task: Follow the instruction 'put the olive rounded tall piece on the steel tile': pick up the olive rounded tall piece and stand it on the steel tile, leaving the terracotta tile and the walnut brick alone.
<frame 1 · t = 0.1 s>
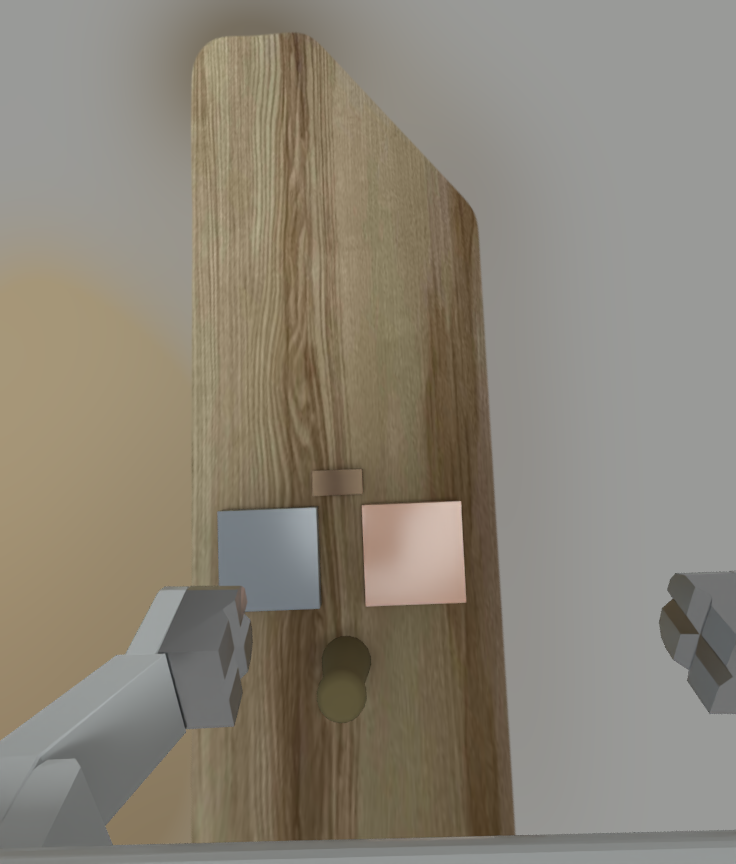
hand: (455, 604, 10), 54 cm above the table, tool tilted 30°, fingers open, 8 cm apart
walnut brick: (338, 481, 64), on the table
olive rounded tall piece: (346, 660, 63), on the table
terracotta tile: (412, 550, 63), on the table
steel tile: (271, 556, 63), on the table
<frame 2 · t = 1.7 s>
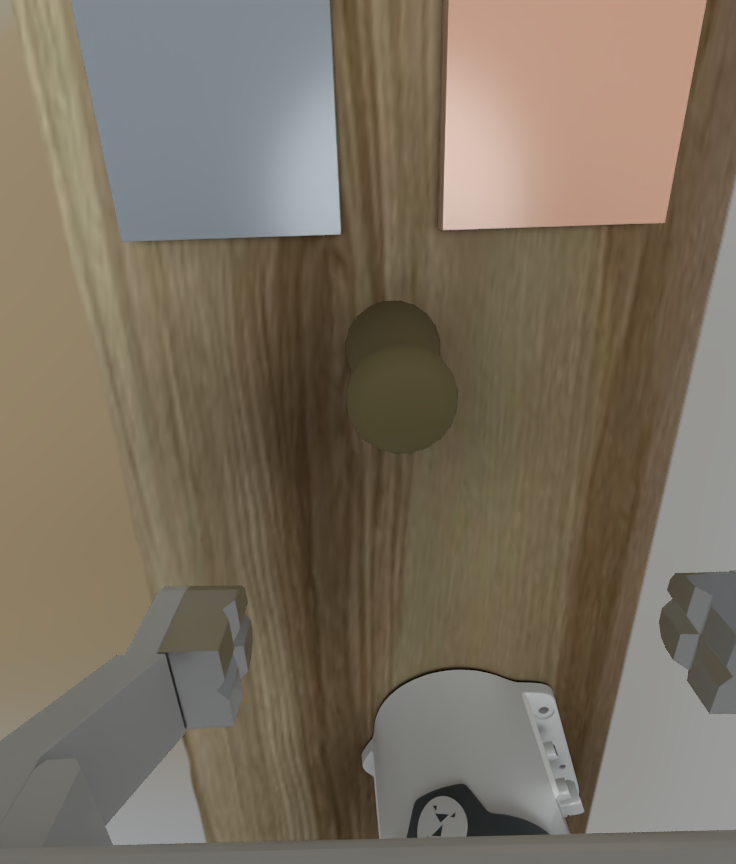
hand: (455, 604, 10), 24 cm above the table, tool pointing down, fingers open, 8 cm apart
olive rounded tall piece: (392, 348, 33), on the table
terracotta tile: (553, 103, 27), on the table
steel tile: (224, 116, 27), on the table
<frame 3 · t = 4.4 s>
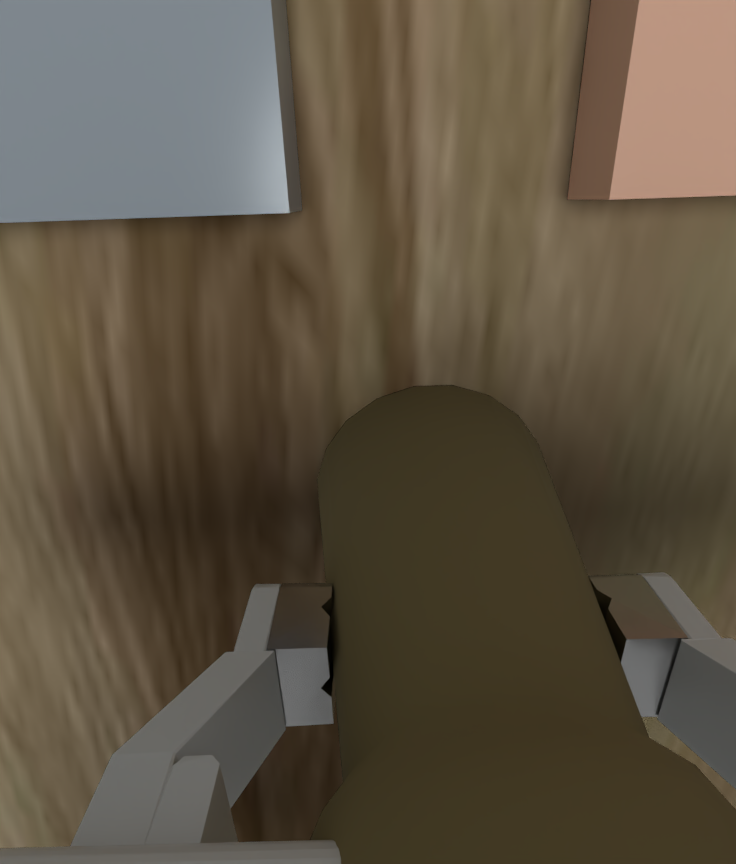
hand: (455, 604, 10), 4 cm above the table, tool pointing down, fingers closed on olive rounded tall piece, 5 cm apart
olive rounded tall piece: (429, 488, 14), on the table, touching gripper
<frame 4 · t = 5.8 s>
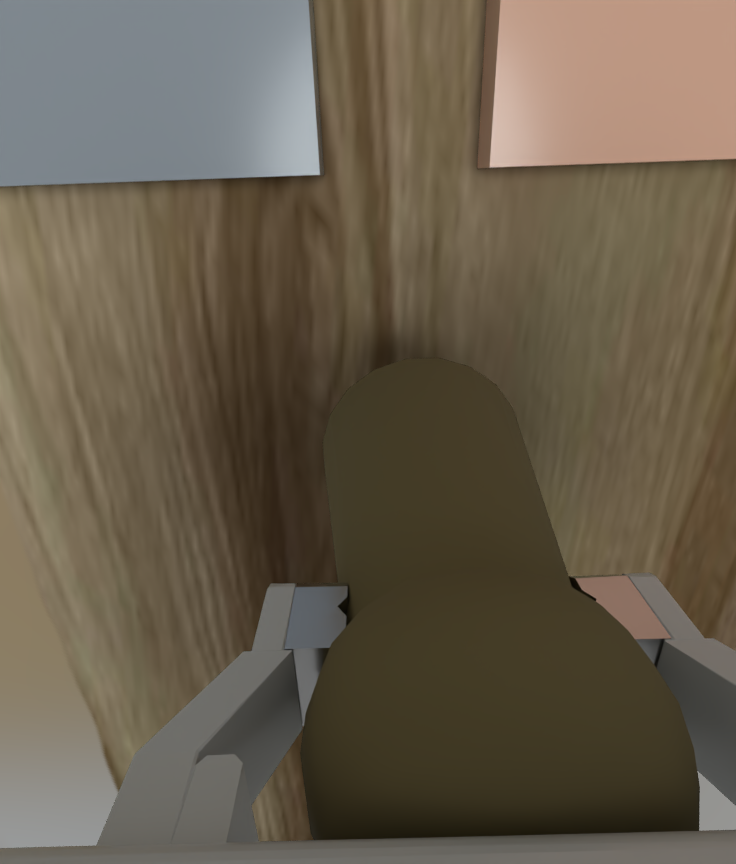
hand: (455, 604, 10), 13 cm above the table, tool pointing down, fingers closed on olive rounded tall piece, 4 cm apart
olive rounded tall piece: (420, 449, 16), point 7 cm above the table, touching gripper
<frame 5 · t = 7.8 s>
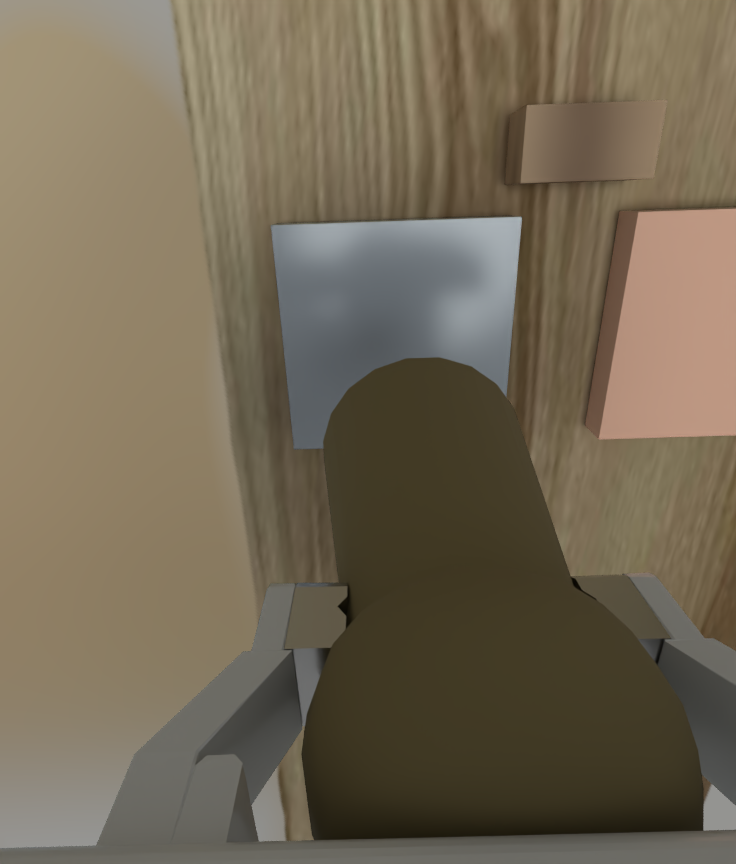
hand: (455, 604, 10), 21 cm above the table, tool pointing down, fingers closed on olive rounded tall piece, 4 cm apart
walnut brick: (567, 148, 25), on the table
olive rounded tall piece: (420, 449, 16), point 14 cm above the table, touching gripper
terracotta tile: (708, 323, 29), on the table
steel tile: (395, 334, 29), on the table
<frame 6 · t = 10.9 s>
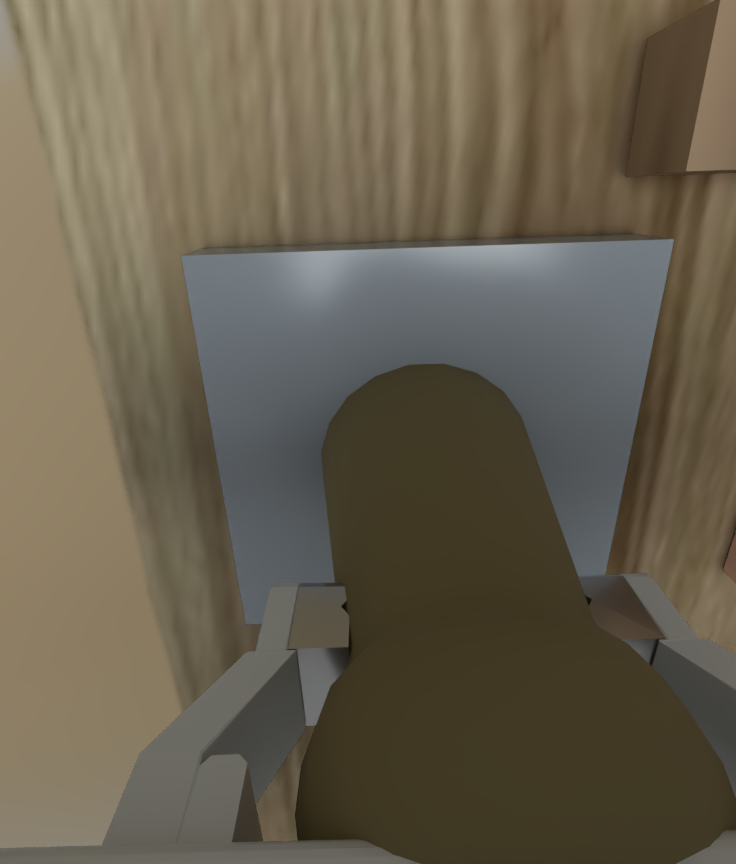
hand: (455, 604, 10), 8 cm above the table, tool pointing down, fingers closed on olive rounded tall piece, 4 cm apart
olive rounded tall piece: (423, 459, 15), point 2 cm above the table, touching gripper, steel tile
steel tile: (416, 435, 17), on the table
when the fingers open (8 cm above the table, at t = 10.9 s): olive rounded tall piece stays where it is, resting on steel tile.
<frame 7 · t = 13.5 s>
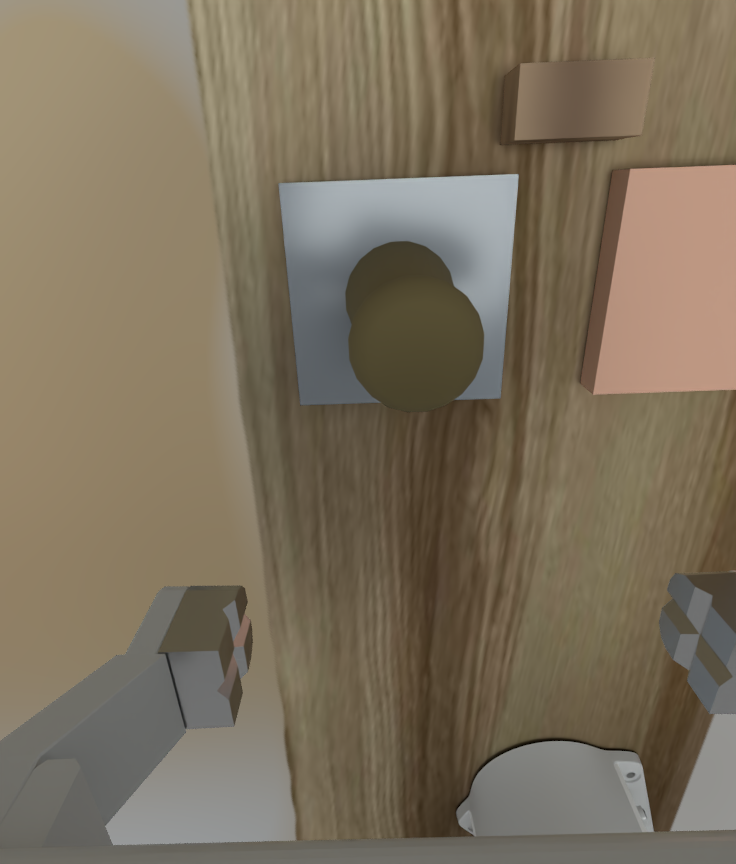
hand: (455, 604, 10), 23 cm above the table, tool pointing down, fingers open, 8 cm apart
walnut brick: (560, 109, 26), on the table
olive rounded tall piece: (399, 298, 28), point 2 cm above the table, touching steel tile
terracotta tile: (698, 282, 30), on the table
steel tile: (397, 293, 30), on the table
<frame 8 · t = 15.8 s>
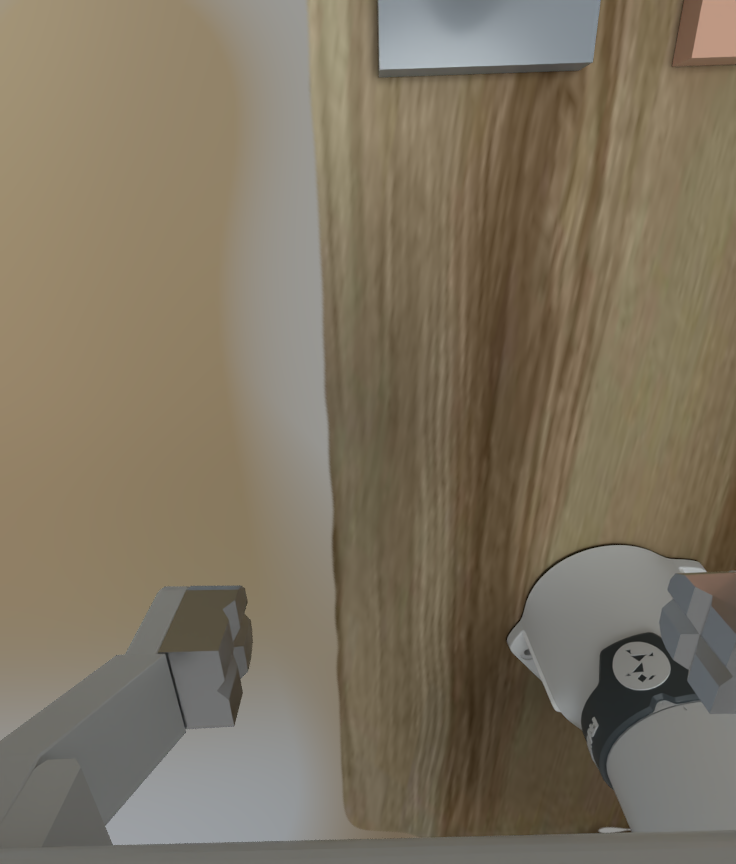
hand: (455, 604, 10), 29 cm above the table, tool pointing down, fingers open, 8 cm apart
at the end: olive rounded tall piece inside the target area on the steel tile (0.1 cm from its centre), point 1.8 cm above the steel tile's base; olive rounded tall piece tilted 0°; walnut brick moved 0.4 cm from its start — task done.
